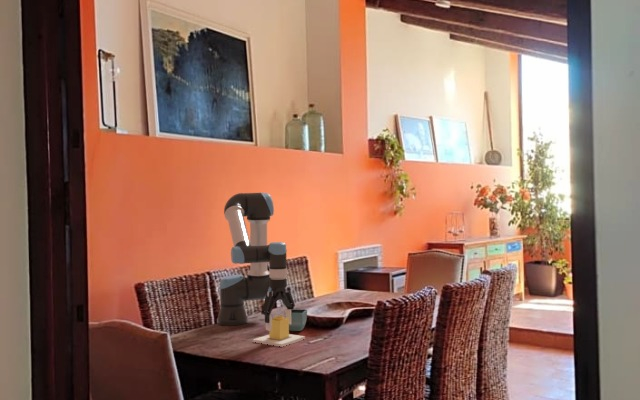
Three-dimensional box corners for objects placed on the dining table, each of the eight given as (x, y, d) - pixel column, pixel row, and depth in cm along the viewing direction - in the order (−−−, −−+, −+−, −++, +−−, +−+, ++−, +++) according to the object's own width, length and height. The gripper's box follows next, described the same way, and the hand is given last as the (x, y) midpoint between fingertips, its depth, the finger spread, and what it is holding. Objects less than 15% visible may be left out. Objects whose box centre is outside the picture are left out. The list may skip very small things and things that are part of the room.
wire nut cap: (278, 335, 257) (277, 314, 257) (289, 337, 254) (288, 315, 254) (269, 338, 252) (269, 316, 252) (280, 339, 249) (279, 318, 249)
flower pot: (284, 331, 270) (284, 312, 270) (290, 327, 278) (289, 308, 278) (303, 332, 268) (302, 313, 268) (307, 328, 276) (307, 309, 276)
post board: (276, 334, 264) (276, 322, 264) (305, 339, 255) (304, 326, 255) (253, 342, 251) (252, 328, 251) (282, 347, 242) (281, 333, 242)
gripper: (289, 273, 265) (289, 320, 266) (252, 281, 245) (253, 331, 245) (302, 275, 261) (302, 322, 262) (265, 282, 241) (266, 334, 241)
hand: (278, 327), depth 254 cm, fingers open, 13 cm apart
